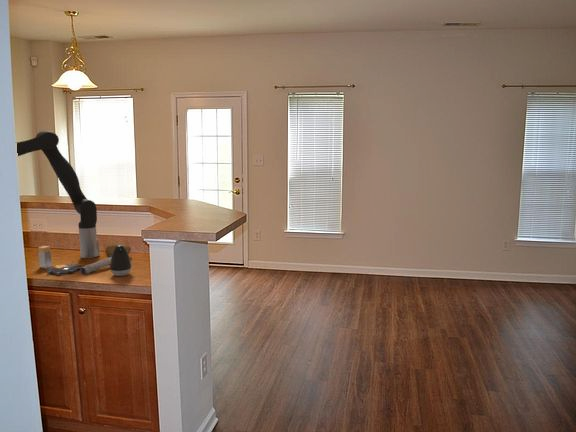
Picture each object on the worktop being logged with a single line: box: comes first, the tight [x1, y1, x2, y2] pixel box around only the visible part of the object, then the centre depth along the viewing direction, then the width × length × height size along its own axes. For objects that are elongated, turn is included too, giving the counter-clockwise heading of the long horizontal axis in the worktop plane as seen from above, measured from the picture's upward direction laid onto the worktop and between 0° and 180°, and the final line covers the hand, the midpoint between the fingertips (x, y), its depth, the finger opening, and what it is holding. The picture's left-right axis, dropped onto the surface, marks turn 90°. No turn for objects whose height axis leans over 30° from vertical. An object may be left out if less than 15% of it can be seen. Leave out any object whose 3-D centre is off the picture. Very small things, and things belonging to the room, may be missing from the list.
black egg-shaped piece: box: [109, 245, 132, 277], centre depth 241 cm, size 10×10×15 cm
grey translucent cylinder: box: [37, 245, 53, 269], centre depth 255 cm, size 4×4×11 cm
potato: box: [105, 243, 132, 258], centre depth 272 cm, size 9×16×9 cm, turn 144°
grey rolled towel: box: [80, 257, 111, 276], centre depth 253 cm, size 5×7×25 cm
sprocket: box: [46, 263, 82, 277], centre depth 249 cm, size 17×17×2 cm
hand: (5, 222), depth 242 cm, fingers open, 8 cm apart
